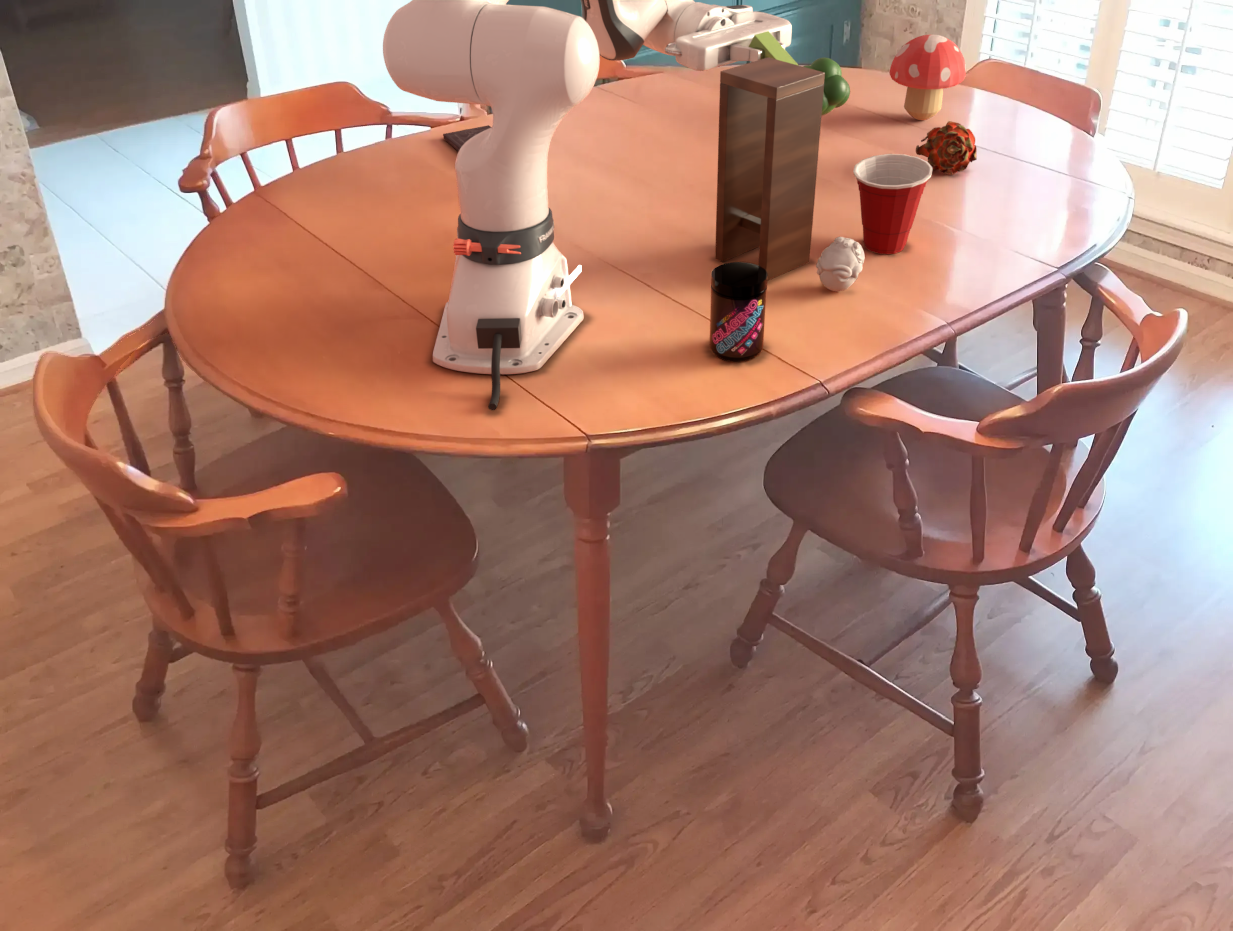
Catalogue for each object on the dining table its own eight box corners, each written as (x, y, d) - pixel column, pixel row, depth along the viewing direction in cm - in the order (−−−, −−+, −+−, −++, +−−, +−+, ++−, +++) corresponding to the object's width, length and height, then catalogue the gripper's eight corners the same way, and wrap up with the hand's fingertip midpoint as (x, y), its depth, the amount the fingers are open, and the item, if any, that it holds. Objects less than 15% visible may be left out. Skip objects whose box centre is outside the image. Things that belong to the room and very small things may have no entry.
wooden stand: (809, 262, 156) (825, 72, 140) (765, 281, 151) (776, 88, 135) (758, 241, 162) (768, 57, 146) (714, 259, 157) (720, 71, 142)
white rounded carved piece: (871, 287, 149) (877, 239, 145) (840, 304, 145) (845, 256, 141) (834, 273, 152) (839, 226, 148) (803, 290, 149) (807, 242, 144)
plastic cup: (829, 246, 160) (837, 166, 153) (877, 225, 165) (886, 147, 158) (889, 270, 153) (899, 187, 146) (936, 247, 158) (949, 167, 151)
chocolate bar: (488, 125, 204) (526, 154, 191) (489, 130, 204) (527, 160, 191) (443, 134, 201) (478, 164, 188) (443, 139, 201) (479, 169, 188)
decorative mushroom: (945, 136, 196) (958, 49, 187) (873, 125, 201) (882, 40, 193) (967, 114, 205) (981, 31, 196) (898, 104, 210) (908, 22, 202)
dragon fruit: (957, 194, 178) (924, 178, 189) (999, 158, 177) (964, 144, 187) (931, 154, 174) (899, 140, 185) (974, 117, 173) (939, 105, 183)
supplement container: (698, 354, 136) (700, 277, 129) (727, 332, 140) (729, 257, 134) (745, 369, 132) (749, 292, 126) (773, 346, 137) (778, 270, 130)
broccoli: (843, 121, 163) (871, 78, 156) (803, 136, 159) (830, 92, 152) (773, 42, 168) (797, -4, 161) (732, 54, 163) (755, 8, 156)
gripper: (658, 27, 165) (722, 45, 156) (753, 2, 175) (818, 18, 166) (658, 70, 168) (721, 90, 160) (751, 43, 179) (815, 60, 170)
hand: (772, 53), depth 163 cm, fingers closed on broccoli, 3 cm apart
